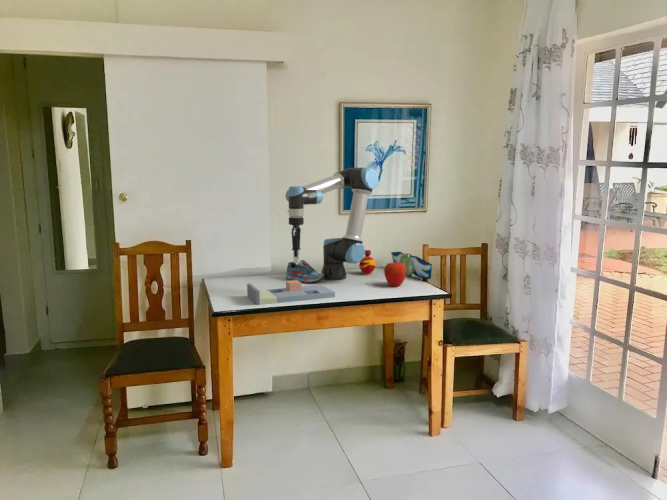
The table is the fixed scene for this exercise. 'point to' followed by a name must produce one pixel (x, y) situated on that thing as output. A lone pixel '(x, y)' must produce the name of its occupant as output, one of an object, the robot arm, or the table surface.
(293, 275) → the running shoe
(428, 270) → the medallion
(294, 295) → the grey flat slotted slab
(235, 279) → the table surface
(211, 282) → the table surface
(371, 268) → the potion bottle
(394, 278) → the apple
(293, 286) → the block
